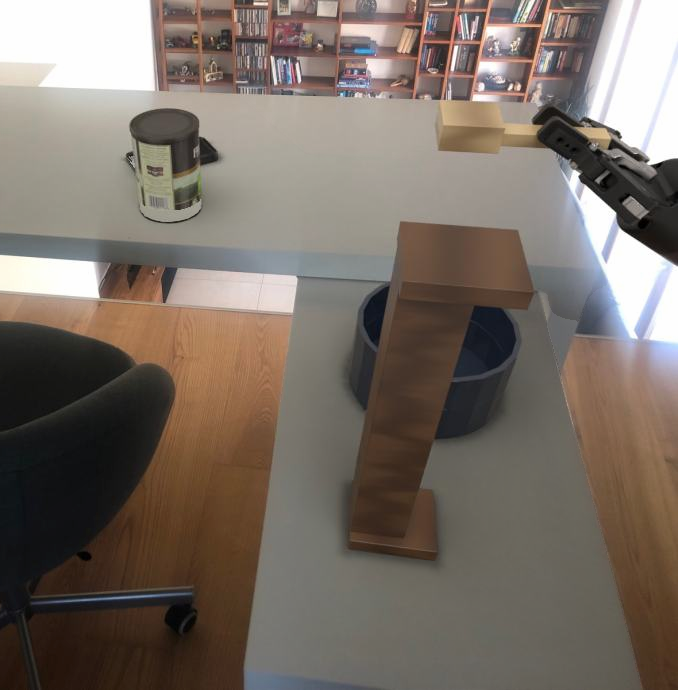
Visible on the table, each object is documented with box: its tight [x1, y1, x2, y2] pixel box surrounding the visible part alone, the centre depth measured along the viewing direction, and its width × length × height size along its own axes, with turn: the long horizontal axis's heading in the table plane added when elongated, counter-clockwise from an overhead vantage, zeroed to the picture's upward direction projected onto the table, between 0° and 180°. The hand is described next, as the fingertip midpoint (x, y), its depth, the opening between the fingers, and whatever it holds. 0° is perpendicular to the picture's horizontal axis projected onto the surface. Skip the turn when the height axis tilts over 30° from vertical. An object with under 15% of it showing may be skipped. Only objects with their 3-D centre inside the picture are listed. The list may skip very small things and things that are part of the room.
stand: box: [347, 220, 535, 561], centre depth 57 cm, size 8×7×32 cm
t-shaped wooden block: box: [434, 99, 611, 155], centre depth 60 cm, size 14×5×2 cm, turn 80°
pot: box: [348, 281, 523, 439], centre depth 78 cm, size 17×17×9 cm
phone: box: [125, 136, 219, 174], centre depth 122 cm, size 8×1×15 cm
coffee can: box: [128, 107, 202, 211], centre depth 106 cm, size 10×10×14 cm
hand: (542, 120), depth 59 cm, fingers closed on t-shaped wooden block, 2 cm apart
